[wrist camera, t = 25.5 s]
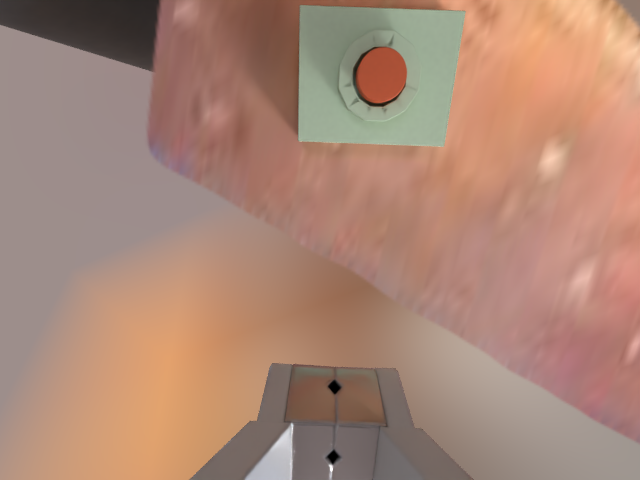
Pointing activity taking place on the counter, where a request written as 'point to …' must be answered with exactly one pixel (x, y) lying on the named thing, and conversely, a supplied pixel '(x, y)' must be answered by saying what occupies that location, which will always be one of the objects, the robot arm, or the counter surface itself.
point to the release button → (381, 75)
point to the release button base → (342, 63)
